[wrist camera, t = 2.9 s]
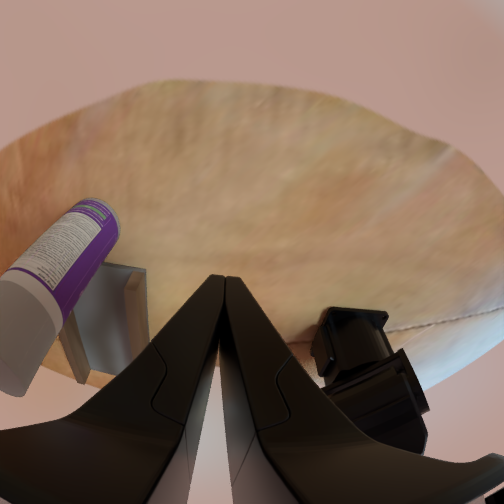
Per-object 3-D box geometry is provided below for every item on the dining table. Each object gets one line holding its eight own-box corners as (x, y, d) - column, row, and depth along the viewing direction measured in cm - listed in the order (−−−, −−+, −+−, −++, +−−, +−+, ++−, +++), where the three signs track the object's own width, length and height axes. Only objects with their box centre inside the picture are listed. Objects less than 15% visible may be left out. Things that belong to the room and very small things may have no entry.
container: (111, 258, 24) (30, 409, 11) (66, 234, 22) (-36, 365, 9) (128, 213, 22) (24, 370, 9) (79, 187, 20) (-53, 313, 7)
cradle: (146, 269, 24) (135, 291, 22) (153, 379, 32) (148, 400, 29) (56, 253, 23) (40, 272, 21) (85, 364, 31) (77, 382, 28)
